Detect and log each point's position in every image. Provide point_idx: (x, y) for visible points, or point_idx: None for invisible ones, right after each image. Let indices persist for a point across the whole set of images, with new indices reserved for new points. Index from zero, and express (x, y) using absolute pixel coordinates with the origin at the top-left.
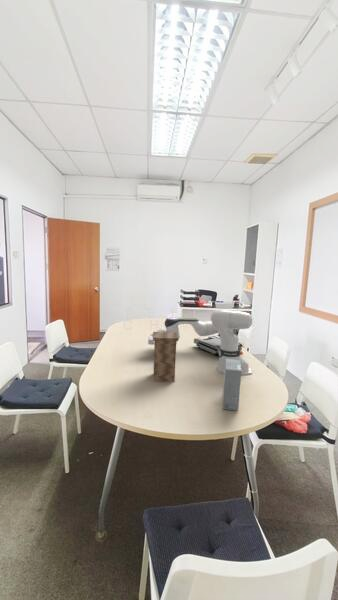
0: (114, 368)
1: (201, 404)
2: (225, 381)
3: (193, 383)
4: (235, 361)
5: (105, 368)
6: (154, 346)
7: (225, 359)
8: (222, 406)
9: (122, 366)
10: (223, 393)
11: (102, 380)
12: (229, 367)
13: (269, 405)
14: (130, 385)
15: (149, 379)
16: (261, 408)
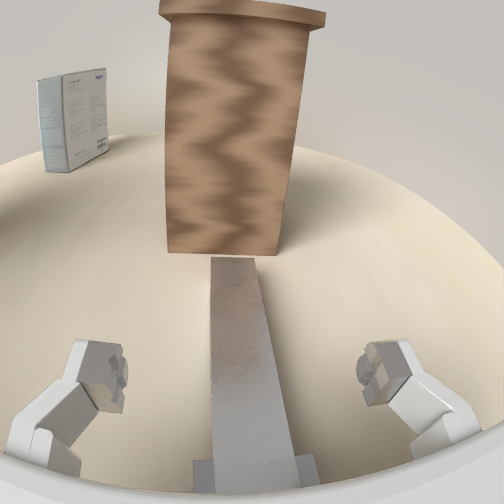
0: (469, 294)
1: (141, 155)
2: (105, 93)
3: (111, 201)
4: (53, 76)
5: (491, 291)
6: (299, 96)
7: (63, 75)
8: (108, 145)
9: (459, 316)
10: (106, 118)
11: (428, 225)
12: (92, 69)
13: (19, 162)
14: (335, 201)
15: (283, 221)
16: (40, 156)
